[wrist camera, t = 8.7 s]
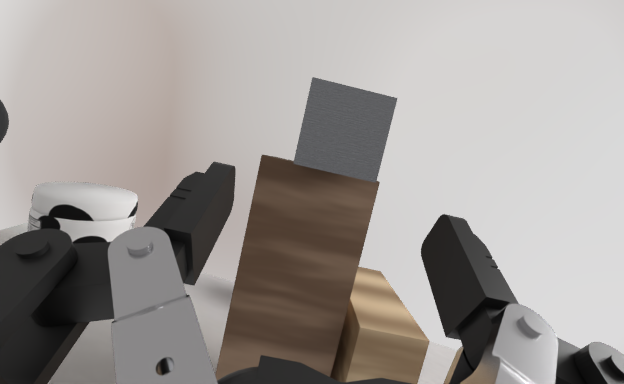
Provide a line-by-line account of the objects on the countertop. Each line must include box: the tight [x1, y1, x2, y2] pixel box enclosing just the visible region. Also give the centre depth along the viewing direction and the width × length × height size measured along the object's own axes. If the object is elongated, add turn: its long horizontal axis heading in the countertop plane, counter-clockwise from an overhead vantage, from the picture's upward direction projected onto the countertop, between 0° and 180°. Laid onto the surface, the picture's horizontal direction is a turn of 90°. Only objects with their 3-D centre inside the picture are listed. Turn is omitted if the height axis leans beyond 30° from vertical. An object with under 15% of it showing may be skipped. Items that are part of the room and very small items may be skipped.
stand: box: [215, 155, 429, 384], centre depth 31 cm, size 15×17×32 cm
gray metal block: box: [293, 78, 397, 183], centre depth 26 cm, size 26×4×4 cm, turn 2°
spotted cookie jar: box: [28, 182, 138, 244], centre depth 53 cm, size 17×17×18 cm
